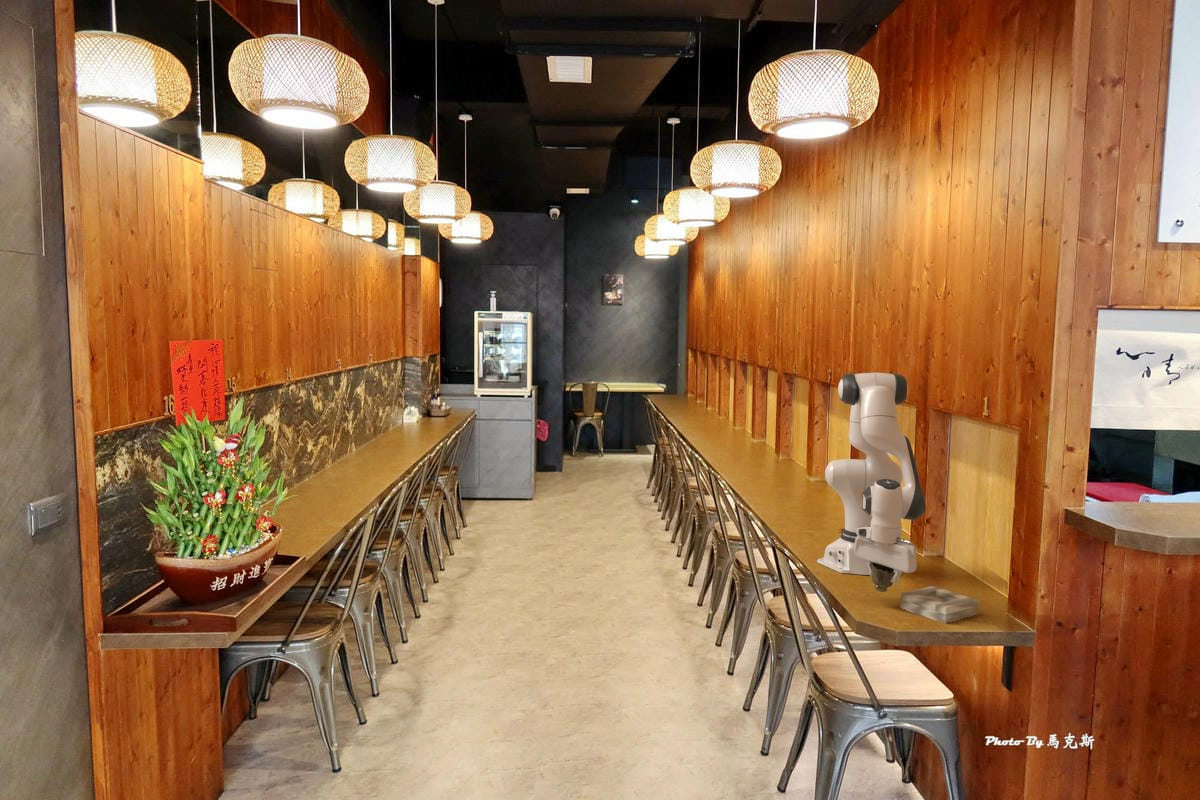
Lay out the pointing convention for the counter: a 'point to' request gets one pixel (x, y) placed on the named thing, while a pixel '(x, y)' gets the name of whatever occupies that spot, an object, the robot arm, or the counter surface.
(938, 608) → the white recessed square tray
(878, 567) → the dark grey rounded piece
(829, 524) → the counter surface
